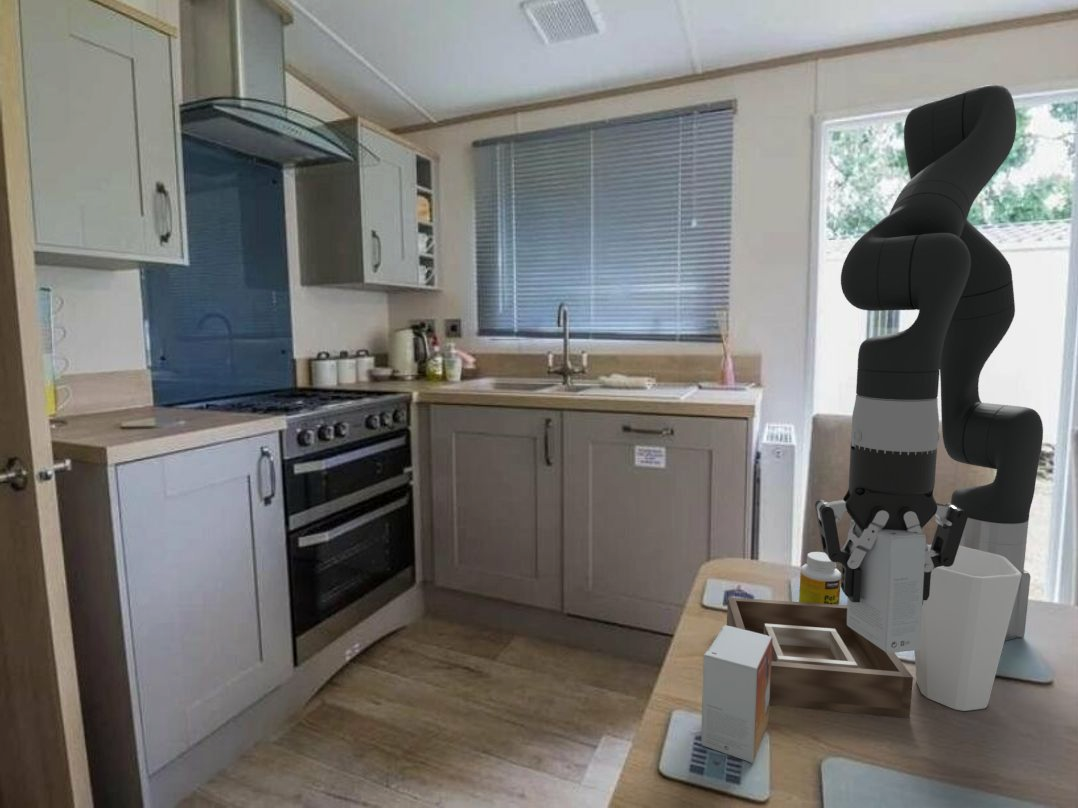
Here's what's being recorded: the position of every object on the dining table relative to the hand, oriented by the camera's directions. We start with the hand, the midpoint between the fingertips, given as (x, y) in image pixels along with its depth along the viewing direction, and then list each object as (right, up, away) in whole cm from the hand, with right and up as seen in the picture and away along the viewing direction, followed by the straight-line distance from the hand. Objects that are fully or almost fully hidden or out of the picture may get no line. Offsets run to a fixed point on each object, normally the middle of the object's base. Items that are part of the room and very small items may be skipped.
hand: (883, 600), depth 64 cm
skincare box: (0, -4, +1) cm, 4 cm away
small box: (-14, -16, +4) cm, 22 cm away
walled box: (-1, -14, +17) cm, 22 cm away
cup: (+15, -15, +11) cm, 24 cm away
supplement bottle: (+7, -13, +30) cm, 33 cm away
